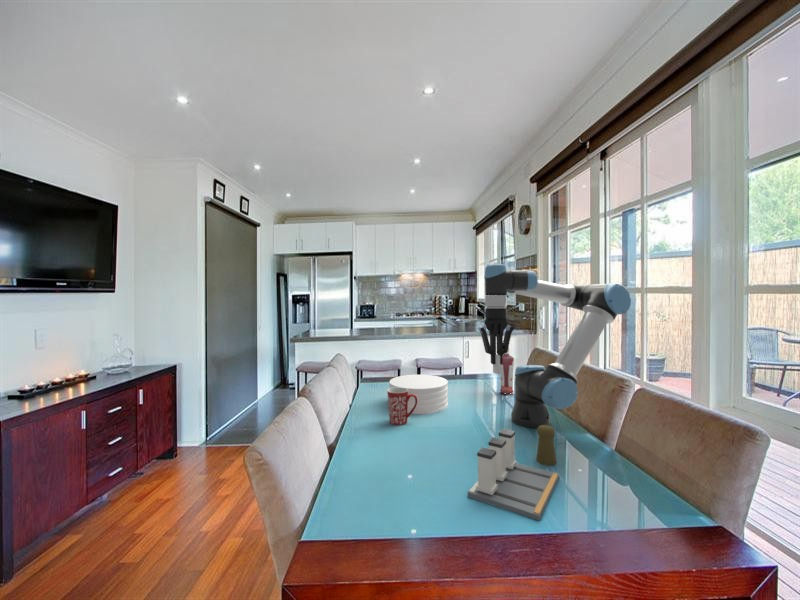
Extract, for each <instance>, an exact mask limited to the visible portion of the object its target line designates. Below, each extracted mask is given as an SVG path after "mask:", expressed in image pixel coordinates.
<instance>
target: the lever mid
mask: <svg viewBox="0 0 800 600" xmlns="http://www.w3.org/2000/svg"><path fill="white" fill-rule="evenodd" d="M487 443H488V449H491V450H496V480H500V481H504V479H505V478H506V477H507V475H508V472H507V471H506V450H505V444H506V440H503V439H499V437H498V438H497V437H493V436H492V437H491V439H490V440H489V441H488V442H487Z"/></svg>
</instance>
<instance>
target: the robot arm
mask: <svg viewBox="0 0 800 600" xmlns="http://www.w3.org/2000/svg"><path fill="white" fill-rule="evenodd" d="M507 294H514V295H519V296H525V297H528V298H533V299H539V300H544V301H547V302H548V301H549V302H554V303H559V304H560V305H562V307H566V308H571V309H575V310H579V311H582V312H583V313H584V314H582V316H581V318H580V320H579V322H578V323H577V325H576V327H575V328H574V330H573V331H572V333H571V335H570V336H569V338H568V339H567V342H566V343H565V345H564V346H563V348H562V350H561V351H560V353H559V355H558V356H557V358H556V360H555V361H554V363H548V365H547V366H546V367H545V366H544V365H539V364H538V365H537V364H529V365H528V364H525V365H518V366H516V367H515V372H514V377H515V378H514V379H515V383H514V384H515V388H514V389H515V391H514V392H515V393H514V394H515V400H514V401H515V402H514V404H513V408H512V411H511V414H510V415H511V416H510V418H511V421H512V422H513V423H514V424H516V425H518V426H522V427H527V428H535V429H538V427H539V426H541V425H548V426H551V416H550V414H549V410H548V408H547V406H548V407H549V408H554V409H557V410H563V409H567V408H569V407H571V406H573V404H574V403H575V402H576V400H577V398H578V395H579V394H578V385H577V384H578V377H577V375H578V373H579V371H580V370H581V369H582V367H583V365H584V363H585V362H586V360H587V358H588V356H589V354H590V353H591V351H592V349H593V348H594V346H595V344H596V343H597V341H598V339H599V338H600V336H601V334H602V333H603V331H604V330H605V328H606V326H607V325H608V324H612V323H614V321H615V319H616V318H617V316H618V315H623V314H626V313H627V312H628V311H629V310H630V308H631V305H632V298H631V294H630V292H629V290H628V289H627V287H626V286H624V285H622V284H620V283H613V282H608V283H594V284H592V283H591V284H590V283H589V284H571V283H567V284H560V283H555V282H551V281H547V280H546V281H545V280H540V279H539V277H538V274H537V273H536V271H534V270H529V269H522V270H521V269H520V270H519V269H517V270H516V269H514V270H513V269H511V270H510V269H508V268H507V265H506V264H502V263H495V264H487V265H485V267H484V300H485V301H484V306H485V307H486V308H485V309H484V314H485V315H484V316H485V317H484V318H485V321H484V323H483V324H484V325H482V326H479V327H478V328H477V329H478V332H480V335H481V339H482V343H483V346H484V347H483V349H484V351H485V354H488V355H490V363H491V365H492V373H493V374H495V375H500V364H502V356H503V355H504V353H507V352H508V347H509V346H510V342H511V337H512V334H513V332H514V331H515V330H514V329H515V327H514V326H511V325H510V324H509V322H508V309H507V308H506V307H507V306H508V298H507V297H508V295H507ZM487 331H488V332H489V334H488V332H487ZM504 331H505V333H504ZM488 335H489V336H488ZM509 348H510V347H509Z"/></svg>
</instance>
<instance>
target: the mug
mask: <svg viewBox="0 0 800 600" xmlns="http://www.w3.org/2000/svg"><path fill="white" fill-rule="evenodd" d="M386 392H387V393H386V394H387V404H388V417H389V423H390V424H391V425H395V426H402V425H405V424H407V423H408V418H409V417H410V416H411V415H413V414H412V412H413V411H414V409H415V408H416V405H417V397H416V395H414V394H410V395H408V389H407V388H402V387H395V388H390V387H389V388H388V389H387V390H386ZM410 397H414V398H415V405H414V407H413V409H412V410H411V411H410V413H407V408H408V401H409V398H410Z"/></svg>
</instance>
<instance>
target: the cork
mask: <svg viewBox="0 0 800 600" xmlns="http://www.w3.org/2000/svg"><path fill="white" fill-rule="evenodd" d="M536 429H537V430H536V431H537V432H536V433H537V435H538V444H537V451H536V457H535V461H536V463H538V464H541V465H543V466H548V467H549V466H551V467H552V466H556V465H557V455H556V447H555V440H554V438H555V435H556V430H555V428H554V426H553V427H552V426H551V425H541V426H539V427H538V428H536Z"/></svg>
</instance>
